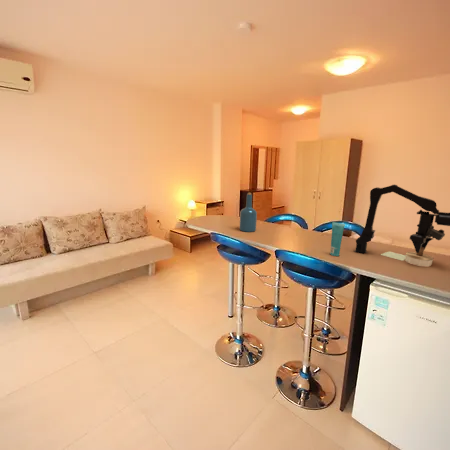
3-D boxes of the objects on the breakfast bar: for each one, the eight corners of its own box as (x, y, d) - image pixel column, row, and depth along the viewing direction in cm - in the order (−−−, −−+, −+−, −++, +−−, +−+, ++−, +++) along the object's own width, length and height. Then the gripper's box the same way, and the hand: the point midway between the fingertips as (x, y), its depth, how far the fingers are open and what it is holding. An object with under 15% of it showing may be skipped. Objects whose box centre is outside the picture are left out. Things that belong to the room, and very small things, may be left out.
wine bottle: (255, 232, 201) (257, 193, 195) (238, 231, 203) (240, 193, 197) (256, 228, 214) (258, 192, 208) (240, 227, 216) (241, 191, 210)
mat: (402, 261, 145) (402, 260, 145) (379, 255, 155) (379, 254, 155) (411, 257, 152) (411, 256, 152) (389, 252, 162) (389, 251, 162)
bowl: (425, 268, 135) (427, 261, 135) (402, 262, 144) (403, 255, 143) (433, 264, 142) (435, 257, 141) (410, 258, 151) (411, 252, 150)
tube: (342, 255, 153) (346, 223, 149) (339, 257, 149) (343, 224, 145) (329, 252, 158) (333, 221, 154) (326, 254, 154) (330, 222, 150)
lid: (428, 262, 134) (430, 252, 133) (402, 255, 143) (403, 246, 142) (436, 258, 141) (438, 248, 140) (410, 251, 150) (412, 242, 149)
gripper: (438, 228, 126) (431, 258, 130) (450, 224, 137) (444, 252, 140) (411, 223, 135) (406, 252, 139) (425, 220, 146) (420, 247, 149)
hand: (420, 251), depth 142 cm, fingers open, 7 cm apart
